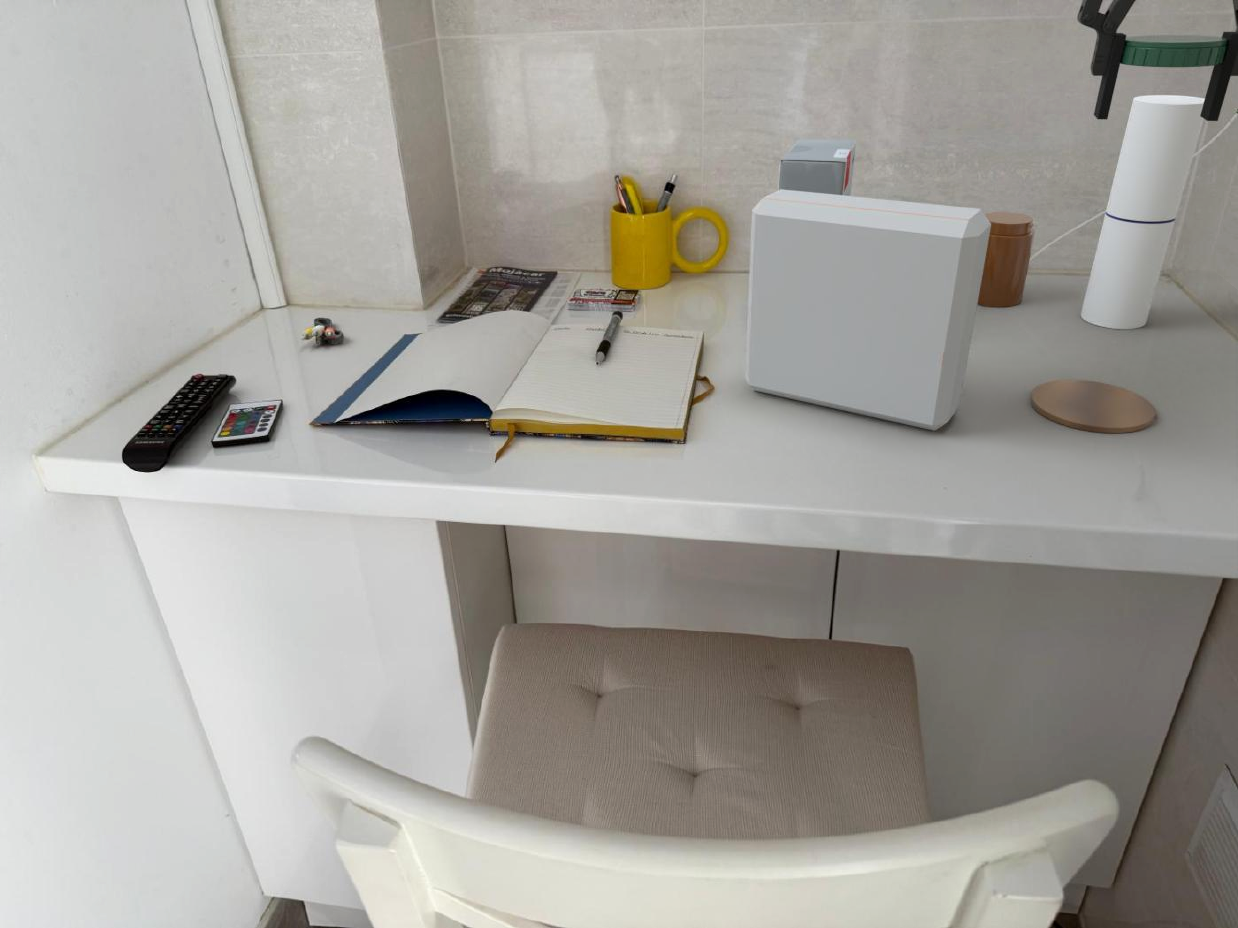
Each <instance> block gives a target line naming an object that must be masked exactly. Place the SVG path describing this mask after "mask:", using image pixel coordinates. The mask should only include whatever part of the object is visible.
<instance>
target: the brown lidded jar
mask: <svg viewBox="0 0 1238 928" xmlns="http://www.w3.org/2000/svg"><path fill="white" fill-rule="evenodd" d="M984 214H985V215H986V217H987V218H988V220H989V222H990V223H991V229H990V235H989V240H988V246H987V252H986V257H985V263H984V269H983V274H982V280H981V286H980V292H979V297H978V303H977V305H979V306H985V307H990V308H1008V307H1009V308H1010V307H1014V306H1017V305H1019V304H1021V303H1022V301H1023V296H1024V290H1025V286H1026V281H1027V276H1028V270H1029V266H1030V260H1031V257H1032V256H1031V255H1032V250H1033V244H1034V241H1035V235H1036V230H1035V229H1034V218H1033V217H1032V216H1031V215H1030V216H1029V215H1027V214H1023V213H1018V212H1011V211H1009V212H1008V211H996V212H988V213H984Z"/></svg>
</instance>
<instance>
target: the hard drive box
mask: <svg viewBox="0 0 1238 928" xmlns="http://www.w3.org/2000/svg"><path fill="white" fill-rule="evenodd" d="M856 147H857V140H855V139H831V138H830V139H828V138H798V139H797V140H796V141H795V142H794V143H793V145H792V146H791V147H790V148H789V149H788V151H787V152H786V153H785V154H784V155H783V156H782V158H781V159H780V160H779V169H778V185H777V191H778V190H780V189H783V190H793V191H803V192H813V193H824V194H834V195H844V196H852V186H853V185H852V184H853V177H854V166H855V157H856V149H857V148H856Z"/></svg>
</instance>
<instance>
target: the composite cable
mask: <svg viewBox="0 0 1238 928" xmlns="http://www.w3.org/2000/svg"><path fill="white" fill-rule="evenodd" d="M313 326H314V327H309V328H308V329H306V330H305V331H303V332H302V334H301V335H302V336H301V337H300V339H301V341H309V340H312V338H314V337H315V343H316V346H318V347H319V346H321V345H324V344H325V343H326V341H327V343H328V344H331V345H335V344H339V343H341V342H343V341H344V340H345V335H344V333H343V331H342V330H340V329H336V328H334V327H333V321H332V319H330V318H328V317H317V318H314V319H313Z"/></svg>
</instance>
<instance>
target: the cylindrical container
mask: <svg viewBox="0 0 1238 928" xmlns="http://www.w3.org/2000/svg"><path fill="white" fill-rule="evenodd" d="M1204 100H1205V98H1204V97H1198V96H1188V95H1177V94H1176V95H1175V94H1151V95H1150V94H1149V95H1148V94H1147V95H1139V96H1136V97H1135V96H1134V97H1133V99H1132V103H1131V107H1130V111H1129V115H1128V119H1127V124H1126V127H1125V132H1124V135H1123V140H1122V143H1121V147H1120V152H1119V155H1118V160H1117V164H1116V167H1115V168H1116V169H1115V172H1114V176H1113V181H1112V185H1111V188H1110V193H1109V197H1108V201H1107V205H1106V209H1105V213H1104V218H1103V221H1102V226H1101V229H1100V233H1099V238H1098V242H1097V247H1096V250H1095V255H1094V258H1093V263H1092V267H1091V271H1090V275H1089V279H1088V283H1087V288H1086V290H1085V296H1084V298H1083V304H1082V307H1081V311H1080V317H1081V319H1082V320H1084V321H1085V322H1087V323H1089V324H1092V325H1095V326H1097V327H1103V328H1108V329H1115V330H1134V329H1140V328H1142V327H1144V326H1145V325H1146V323H1147V321H1148V317H1149V313H1150V310H1151V307H1152V303H1153V299H1154V296H1155V293H1156V290H1157V286H1158V283H1159V278H1160V275H1161V271H1162V268H1163V264H1164V261H1165V257H1166V253H1167V250H1168V247H1169V243H1170V240H1171V236H1172V233H1173V228H1174V227H1175V222H1176V218H1177V215H1178V212H1179V208H1180V206H1181V201H1182V198H1183V194H1184V190H1185V187H1186V184H1187V181H1188V176H1189V173H1190V169H1191V167H1192V162H1193V160H1194V156H1195V153H1196V149H1197V145H1198V141H1199V138H1200V134H1201V131H1202V127H1203V123H1204V121H1205V119H1204V118H1202V117H1201V116H1200V115H1201V111H1202V108H1203V104H1204Z"/></svg>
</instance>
